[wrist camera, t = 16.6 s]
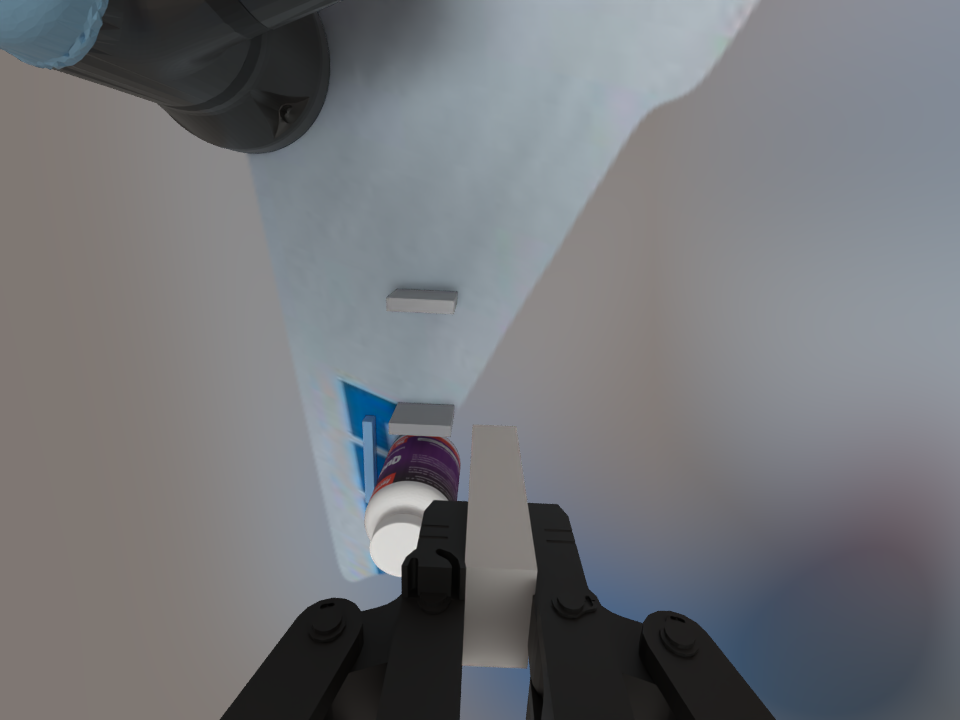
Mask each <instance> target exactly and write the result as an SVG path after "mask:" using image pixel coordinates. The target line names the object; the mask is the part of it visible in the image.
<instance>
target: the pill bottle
mask: <svg viewBox="0 0 960 720" xmlns="http://www.w3.org/2000/svg"><path fill="white" fill-rule="evenodd" d="M459 475H460V457H459V454H458V451H457V449H456V447H455V446H454V444H453V443H452V442H451V441H450V440H449V439H448V438H446V437H436V436H414V435H402V436H401V437H399V438H398V439H397V440H396V441H395V442H394V444H393V445H392V447H391V448H390V450H389V453H388V455H387V458H386V460H385V463H384V466H383V468H382V471H381V473H380V476H379V478H378V481H377V483H376V486H375V488H374V491H373V493H372V496H371V498H370V501H369V503H368V506H367V509H366V512H365V529H366V532H367V535H368V537H369V539H370V541H371V542H370V554H371V557H372V559H373V561H374V563H375V564H376V565H377V566H378V567H379V568H380V569H381V570H383V571H384V572H386V573H388V574H390V575H393V576H397V577H402V575H401V565H402V564H403V562H404V560H405V558H406V556H407V555H409V554H410V553H411V552H412V551H413V550H415V549H416V548H417V543H418V538H419V533H420V528H421V523H422V519H423V514H424V511H425V509H426V508H427V507H428V506H429V505H430V504H431V503H432V501H433V500H445V501H457V493H458V484H459Z"/></svg>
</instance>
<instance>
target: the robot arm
mask: <svg viewBox="0 0 960 720" xmlns="http://www.w3.org/2000/svg"><path fill="white" fill-rule="evenodd" d="M340 1H342V0H0V49H2V50H5V51H6V52H8V53H9V54H11V55H13V56H15V57H16V58H18V59H19V60H20V61H22V62H24V63H27V64H29V65H33V66H35V67H39V68H48V69H50V70H51V69H54V70H57V71H60V72H64V73H66V74H70V75H73V76H76V77H79V78H82V79H85V80H88V81H91V82H94V83H97V84H101V85H104V86H107V87H110V88H113V89H116V90H119V91H122V92H125V93H128V94H131V95H134V96H137V97H140V98H143V99H146V100H149V101H152V102H155V103H157V104H158V105H160V106H161V107H162V108H163V109H164V110H165V111H166V112H167V113H168V114H169V115H170V116H171V117H172V118H173V119H174V120H175V121H176V122H177V123H178V124H180V125H181V126H182V127H183V128H185V129H186V130H187V131H189V132H190V133H192V134H193V135H195V136H197V137H198V138H200V139H202V140H204V141H206V142H208V143H211V144H213V145H216V146H219V147H222V148H226V149H230V150H234V151H238V152H243V153H266V152H271V151H275V150H278V149H281V148H283V147H285V146H287V145H289V144H291V143H292V142H294V141H295V140H297V139H298V138H299V137H301V136H302V135H303V134H304V133H305V132H306V131H307V130H308V129H309V127H310V126H311V125H312V124H313V122H314V121H315V119H316V118H317V116H318V114H319V112H320V110H321V108H322V106H323V103H324V100H325V97H326V93H327V89H328V84H329V76H330V58H329V49H328V43H327V38H326V34H325V31H324V28H323V25H322V22H321V20H320V17H319V15H318V13H317V11H319V10H321V9H323V8H326V7H328V6H330V5H333V4H335V3H338V2H340ZM401 575H402V594H401V595H400V596H399V597H398V598H397V599H396V600H394V601H392V602H390V603H388V604H387V605H383V606H380V607H377V608H373V609H369V610H365V611H360V609H359V608H358V607H357V605H356V604H355V603H353V602H351V601H349V600H347V599H342V598H330V599H325V600H321V601H319V602H317V603H315V604H313V605H311V606H309V607H307V609H306V610H304V611H303V612H302V613H301V614H300V615H299V616H298V617H297V618H296V620H295V621H294V623H293V624H292V625H291V627H290V628H289V629H288V631H287V632H286V633H285V634H284V636H283V637H282V638H281V640H280V641H279V642H278V644H277V645H276V646H275V647H274V649H273V650H272V652H271V653H270V654H269V655H268V657H267V658H266V659H265V661H264V662H263V663H262V665H261V666H260V668H259V669H258V670H257V671H256V673H255V674H254V675H253V677H252V678H251V679H250V680H249V682H248V683H247V684H246V686H245V687H244V688H243V690H242V691H241V693H240V694H239V695H238V697H237V698H236V699H235V700H234V702H233V703H232V704H231V706H230V707H229V708H228V709H227V711H226V712H225V713H224V715H223V716H222V717H221V719H220V720H460V700H461V679H462V666H483V667H504V668H527V665H528V655H529V664H530V676H531V677H530V686H529V695H528V704H527V714H526V720H776V719H775V718H774V717H773V715H772V714H771V713H770V711H769V710H768V709H767V708H766V706H765V705H764V704H763V703H762V701H761V700H760V699H759V698H758V696H757V695H756V694H755V693H754V691H753V690H752V689H751V688H750V686H749V685H748V684H747V683H746V681H745V680H744V679H743V677H742V676H741V675H740V674H739V673H738V671H737V670H736V669H735V667H734V666H733V665H732V664H731V662H730V661H729V660H728V659H727V657H726V656H725V655H724V654H723V652H722V651H721V650H720V649H719V647H718V646H717V645H716V643H715V642H714V641H713V640H712V638H711V637H710V636H709V635H708V634H707V632H706V631H705V630H704V629H702V628H701V627H700V626H699V625H698V624H697V623H696V622H694V621H693V620H691V619H689V618H688V617H686V616H684V615H682V614H679V613H675V612H672V611H657V612H654V613H652V614H650V615H648V616H647V618H646V619H645V621H644V622H643V623H640V622H637V621H634V620H630V619H628V618H624V617H622V616H619V615H617V614H614V613H612V612H610V611H609V610H607V609H606V608H604V607H603V606H601V604H600V602H599V600H598V599H597V597H596V595H595V594H594V593H592V592H591V591H590V590H589V589H588V586H587V583H586V579H585V575H584V572H583V568H582V565H581V561H580V557H579V554H578V550H577V546H576V544H575V539H574V536H573V533H572V528H571V525H570V521H569V517H568V516H567V514H566V513H565V512H564V511H563V510H562V509H561V508H560V506H559V505H557V504H539V503H527V496H526V490H525V483H524V476H523V469H522V463H521V456H520V450H519V442H518V435H517V429H516V427H515V426H494V425H473V431H472V446H471V464H470V481H469V498H468V502H467V501H445V500H433V501H432V503H431V504H430V505H429V506H428V507H427V508H426V509H425V511H424V514H423V519H422V523H421V528H420V533H419V538H418V543H417V548H416V549H415V550H413V551H412V552H411V553H410V554H409V555H407V556H406V558H405V560H404V562H403V564H402V565H401Z"/></svg>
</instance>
